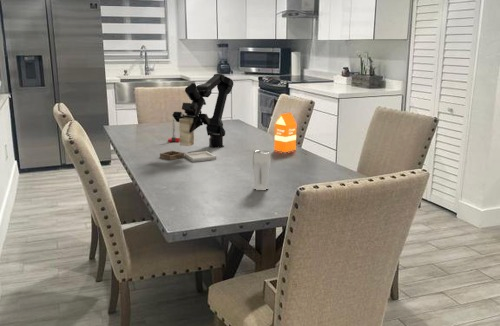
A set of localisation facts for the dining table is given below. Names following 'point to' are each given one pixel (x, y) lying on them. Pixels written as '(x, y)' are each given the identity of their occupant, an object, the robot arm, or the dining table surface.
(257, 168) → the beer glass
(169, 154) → the walnut collar
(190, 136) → the tan wooden block
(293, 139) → the orange juice
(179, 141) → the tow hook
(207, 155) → the tray
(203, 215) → the dining table surface
